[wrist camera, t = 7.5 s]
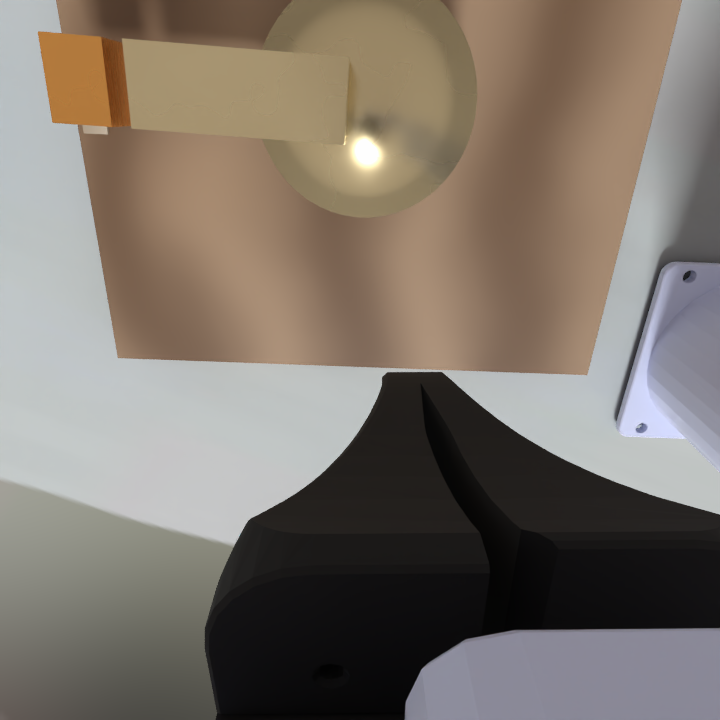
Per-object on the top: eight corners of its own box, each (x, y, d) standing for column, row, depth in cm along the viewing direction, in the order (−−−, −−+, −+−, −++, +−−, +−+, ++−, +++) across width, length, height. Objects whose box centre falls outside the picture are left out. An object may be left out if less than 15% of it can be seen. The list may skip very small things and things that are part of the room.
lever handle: (485, -10, 14) (506, -31, 12) (452, 217, 17) (464, 231, 15) (69, -47, 14) (21, -73, 12) (101, 191, 16) (65, 202, 14)
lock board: (719, -257, 15) (818, -358, 11) (573, 359, 23) (608, 399, 20) (31, -296, 14) (-62, -413, 11) (132, 343, 22) (95, 380, 19)
